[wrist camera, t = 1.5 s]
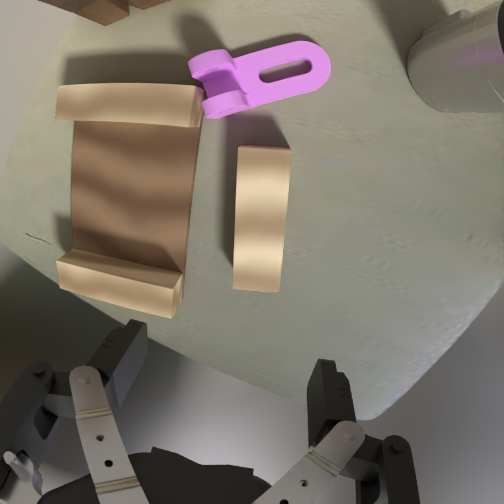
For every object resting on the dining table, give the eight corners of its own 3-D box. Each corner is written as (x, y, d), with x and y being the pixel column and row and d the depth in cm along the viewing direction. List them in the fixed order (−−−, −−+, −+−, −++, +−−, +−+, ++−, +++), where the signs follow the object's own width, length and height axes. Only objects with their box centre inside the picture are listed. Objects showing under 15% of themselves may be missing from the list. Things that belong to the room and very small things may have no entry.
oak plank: (243, 144, 33) (238, 147, 29) (290, 148, 32) (291, 150, 29) (237, 272, 38) (232, 288, 35) (279, 276, 38) (278, 292, 34)
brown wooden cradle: (83, 87, 31) (59, 85, 26) (207, 91, 30) (195, 85, 26) (78, 271, 40) (59, 288, 36) (183, 297, 40) (171, 318, 35)
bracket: (217, 119, 32) (201, 117, 25) (201, 72, 30) (182, 61, 23) (335, 86, 29) (349, 76, 23) (319, 39, 27) (328, 19, 21)
